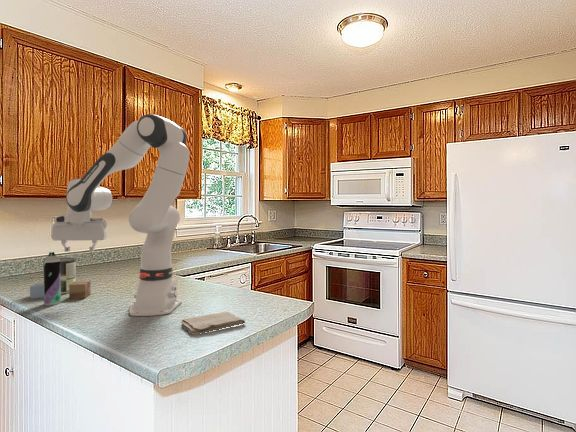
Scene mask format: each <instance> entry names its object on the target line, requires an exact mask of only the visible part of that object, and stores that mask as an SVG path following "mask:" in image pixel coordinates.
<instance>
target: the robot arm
mask: <svg viewBox="0 0 576 432" xmlns="http://www.w3.org/2000/svg"><path fill="white" fill-rule="evenodd" d="M187 141H188V136H187V132H186V130H185V129H184V128H183V127H182V126H180V125H179V124H176V123H175V122H174V121H171V120H170V119H168V118H165V117H163V116H159V115H158V114H154V113H153V114H152V113H148V114H144V115H143V116H141V117H140V118H139V119H138V120H134V121H133V122H131V123H130V124H129V125H128V126H127V128H125V129H124V131H123V132H122V133H121V134H120V136H119V137H118V139H117V141H116V142H115V143H114V144H113V145H112V146H111V147H110V149H108V151H106V152H105V153H104V154H102V155H101V156H100V157H99V158H98V159H97V160H96V161H95V162H94V163H93V164H92V166H90V167H89V169H88V171H86V173H84V175H83V176H82V177H81V178H73V179H71V180H69V181H68V183H67V188H66V197H65V201H66V204H67V208H66V214H62V215H58V216H55V217H53V222H54V223H53V224H52V226H51V232H50V237H51V240H52V241H56V242H57V241H60V242H61V245H62V246H63V248H64V252H71V246H68V245H67V243H68V241H92V242H91V243H92V246H89V252H95V248H96V246H97V244H98V241H105V240H106V239H107V237H108V235H107V226H108V225H107V220H106V219H104V218H102V217H92V213H93V212H92V211H105V210H107V209H109V208H110V207H112V204H113V202H114V197H113V194H112V191H111V190H110V189H109V188H107V187H104V186H100V185H101V184H102V183H103V181H104V180H105V179H106V178H107V177H108V176H109V175H111V174H114V173H116V172H120V171H124V170H130V169H132V168H133V169H134V168H135V167H136V166H138V164H139V163H140V162H141V161H142V160H143V158H144V157H145V156H146V155H147V152H148V150H149V149H150V148H151V147H152V148H153V149H156V148H157V150H158V152H159V157H158V159H157V160H158V161H157V163H156V165H155V166H156V167H155V170H154V172H153V175H152V179H151V181H150V184H149V187H148V189H147V190H146V192H145V193H144V195H143V197H142V199H141V200H140V201H139V203H138V204H137V205H136V206H135V207H134V208H132V210H130V212H129V216H128V222H129V225H130V227H131V228H132V229H133V230H134V231H136V232H138V233H142V234H146V238H145V241H144V243H143V245H142V246H141V248H140V268H139V273H138V274H139V276H138V277H139V278H138V279H139V280H138V281H137V282H136V292H135V293H136V294H134V295H133V297H134V299H135V300H133V301H131V302H130V306H129V314H128V315H130V316H133V317H134V316H135V317H148V316H149V317H151V316H152V317H153V316H163V315H168V314H171V313H172V312H173V311H174V310H175V309H176V308H178V307H179V306H180V305H181V304H182V301H183V300H182V299H179V298H178V292H177V291H178V286H177V281H176V280H175V279H174V278H173V276H174V275H173V272H174V271H173V266H172V248H173V241H174V237H175V236H174V235H175V233H176V232H175V231H176V228H177V227H178V224H179V223H180V219H181V214H180V211H179V210H178V209H177V208H176V207H174V206H173V205H172V204H173V202H174V201H175V199H177V197H179V195H180V193H181V190H182V187H183V184H184V181H185V177H186V174H187V172H188V168H189V167H188V166H189V162H190V156H191V155H190V154H191V153H190V149H189V148H188V146H187V145H186V144H187Z"/></svg>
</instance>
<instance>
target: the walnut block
mask: <svg viewBox="0 0 576 432" xmlns="http://www.w3.org/2000/svg"><path fill="white" fill-rule="evenodd" d="M91 287H92V286H91V280H81V281H80V280H78V281H75V282H73V283H71V284H69V293H68V294H69V295H68V296H69V297H68V298H69V300H77V299H78V300H79V299H80V300H81V299H88V297H90V296H91V295H92V293H91V292H92V291H91Z"/></svg>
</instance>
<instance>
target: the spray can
mask: <svg viewBox="0 0 576 432" xmlns="http://www.w3.org/2000/svg"><path fill="white" fill-rule="evenodd" d="M60 258H61V257H59V256H57V255H56V254H55V251H52V252H48V255H47V256H46V257H45V258H43V262H42V264H43V267H42V268H43V283H44V297H43V305H44V306H57V305H59V304H61V303H62V302H61V301H62V298H61V297H62V294H61V280H60Z"/></svg>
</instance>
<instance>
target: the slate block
mask: <svg viewBox="0 0 576 432" xmlns="http://www.w3.org/2000/svg"><path fill="white" fill-rule="evenodd" d="M29 298H30V299H40V298H44V282H42V283H40V282H39V283H32V284H31V285H30V286H29Z"/></svg>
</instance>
